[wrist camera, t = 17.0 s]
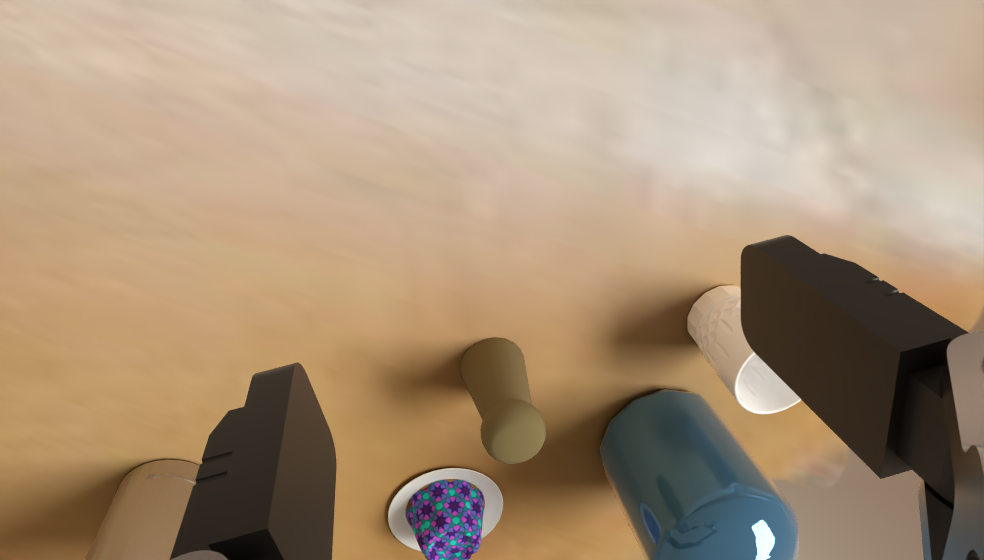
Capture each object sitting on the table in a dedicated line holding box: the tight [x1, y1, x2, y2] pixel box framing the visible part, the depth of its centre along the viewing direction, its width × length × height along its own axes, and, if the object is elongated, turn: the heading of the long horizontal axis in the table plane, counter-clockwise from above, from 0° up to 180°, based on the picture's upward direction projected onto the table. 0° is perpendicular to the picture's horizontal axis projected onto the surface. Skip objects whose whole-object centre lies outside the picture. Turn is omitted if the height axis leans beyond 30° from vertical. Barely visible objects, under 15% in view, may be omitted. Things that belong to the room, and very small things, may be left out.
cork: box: [460, 338, 546, 464], centre depth 53 cm, size 6×6×11 cm
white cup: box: [687, 285, 801, 414], centre depth 56 cm, size 8×8×10 cm
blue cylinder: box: [600, 389, 799, 560], centre depth 53 cm, size 14×13×30 cm
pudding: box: [388, 468, 503, 560], centre depth 63 cm, size 12×12×5 cm
